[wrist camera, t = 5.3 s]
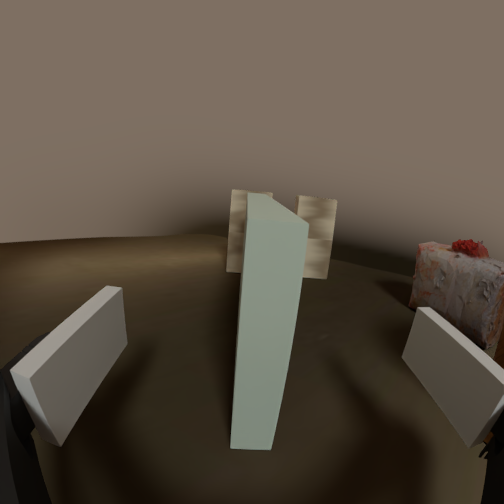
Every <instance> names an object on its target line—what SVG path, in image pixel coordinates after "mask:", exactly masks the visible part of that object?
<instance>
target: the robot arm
mask: <svg viewBox="0 0 504 504" xmlns="http://www.w3.org/2000/svg"><path fill="white" fill-rule="evenodd" d="M127 344H128V343H127V335H126V326H125V317H124V305H123V292H122V288H120V287H113V286H106V287H104V288H103V289H102V290H101V291H100V292H98V293H97V294H96V295H95V296H93V297H92V298H91V299H90V300H89V301H87V302H86V303H85V304H84V305H82V306H81V307H80V308H79V309H78V310H76V311H75V312H74V313H73V314H72V315H71V316H69V317H68V318H67V319H66V320H65V321H64V322H62V323H61V324H60V325H59V326H58V327H57V328H55V329H54V330H53V331H52V332H51V333H50V332H47V333H45V334H43V335H41V336H39V337H37V338H36V339H34V340H33V341H32V342H31V343H30V344H29V346H26V347H25V348H24V349H23V350H22V352H20V353H18V354H17V355H16V356H15V357H14V358H13V359H12V360H11V361H10V362H9V363H7V364H6V365H5V366H4V367H3V368H2V369H1V370H0V504H52V503H51V500H50V498H49V495H48V492H47V489H46V485H45V482H44V479H43V476H42V472H41V468H40V465H39V461H38V457H37V453H36V448H35V444H34V440H33V438H32V436H31V434H30V433H31V432H32V430H33V429H34V428H35V427H36V429H37V431H38V433H39V435H40V437H41V438H42V439H43V440H45V441H47V442H49V443H52V444H54V445H56V446H59V447H61V446H62V444H63V443H64V441H65V439H66V438H67V436H68V434H69V433H70V431H71V429H72V428H73V426H74V425H75V423H76V421H77V420H78V418H79V416H80V415H81V413H82V412H83V410H84V409H85V407H86V405H87V404H88V402H89V401H90V399H91V398H92V396H93V394H94V393H95V391H96V390H97V388H98V387H99V385H100V384H101V382H102V381H103V379H104V378H105V376H106V375H107V373H108V372H109V370H110V369H111V367H112V366H113V364H114V363H115V361H116V360H117V358H118V357H119V355H120V354H121V352H122V351H123V349H124V348H125V346H126V345H127ZM402 359H403V360H404V361H405V363H406V364H407V365H408V366H409V368H410V369H411V370H412V372H413V373H414V374H415V375H416V377H417V378H418V379H419V381H420V382H421V383H422V385H423V386H424V387H425V389H426V390H427V391H428V393H429V394H430V395H431V397H432V398H433V399H434V401H435V402H436V403H437V405H438V406H439V407H440V409H441V410H442V412H443V413H444V414H445V416H446V417H447V419H448V420H449V421H450V423H451V424H452V426H453V427H454V428H455V430H456V431H457V433H458V434H459V435H460V437H461V438H462V440H463V441H464V443H465V444H466V446H467V447H468V449H469V448H471V447H473V446H476V445H478V444H480V443H482V442H483V440H484V439H485V437H486V436H487V435H488V433H489V432H490V431H491V432H492V433H493V437H492V438H491V439H490V441H489V442H488V443H487V445H486V446H485V447H484V449H483V450H482V451H481V453H480V455H479V457H480V458H481V457H482V455H483V454H484V453H485V452H487V451H488V453H487V455H486V456H485V457H484V459H487V468H486V476H485V483H484V489H483V494H482V500H481V504H504V369H503V368H501V367H500V366H499V365H498V364H497V363H496V362H495V361H494V360H492V359H491V358H490V357H489V356H488V355H487V354H486V353H484V352H483V351H482V350H481V349H480V348H479V347H478V346H476V345H475V344H474V343H473V342H472V341H470V340H469V339H468V338H467V337H466V336H464V335H463V334H462V333H461V332H460V331H458V330H457V329H456V328H455V327H454V326H452V325H451V324H450V323H449V322H447V321H446V320H445V319H444V318H442V317H441V316H440V315H439V314H437V313H436V312H435V311H434V310H432V309H431V308H430V307H417V310H416V314H415V317H414V321H413V324H412V327H411V331H410V334H409V337H408V340H407V343H406V346H405V349H404V352H403V355H402Z"/></svg>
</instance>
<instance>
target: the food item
mask: <svg viewBox="0 0 504 504" xmlns="http://www.w3.org/2000/svg"><path fill="white" fill-rule="evenodd" d="M482 244H483V241H481V242H479V241H478V243H475V242H473V240H472V239H470V240H467V241H466V240H464V241H461V240H458V241H457V242H453V244H452V246H450V245H445V244H439V243H436V242H427V243H423V244H419V245H418V251H417V258H416V260H417V263H416V269H415V276H413V279H414V283H413V288H412V295H411V298H410V302H409V305H408V306H409V307H410V308H412V309H414V310H417V307H430V308H431V309H432V310H434V311H435V312H436V313H437V314H439V315H440V316H441V317H442V318H444V319H445V320H446V321H447V322H449V323H450V324H451V325H452V326H454V327H455V328H456V329H457V330H458V331H460V332H461V333H462V334H463V335H464V336H466V337H467V338H468V339H469V340H471V341H473V342H474V343H476V344H478V345H479V346H481V347H483V348H485V349H488V348H489V347H492V346H493V345H494V344H495V343H496V342H498V341H499V339H500V334H501V331H502V326H503V322H504V263H503V262H500V261H497V260H495V259H492V258H490V257H489V255H488V251H487V249H486V248H485V247H484V246H483V245H482Z"/></svg>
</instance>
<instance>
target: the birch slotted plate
mask: <svg viewBox="0 0 504 504" xmlns="http://www.w3.org/2000/svg"><path fill="white" fill-rule="evenodd" d="M247 193H260V194H266V195H268V196H269V197H271V198H272V195H273V193H270V192H258V191H247V190H234V189H233V190H232V197H231V210H230V223H229V237H228V252H227V268H226V272H235V273H241V267H242V254H243V242H244V229H245V217H246V205H247ZM336 207H337V200H333V199H326V198H318V197H309V196H300V195H296V202H295V212H294V214H296V215H297V216H299V217H300V218H302V219H303V220H304V221H306V222H307V223H309V231H308V239H307V247H306V255H305V263H304V270H303V277H304V278H320V279H327V273H328V267H329V260H330V253H331V247H332V239H333V232H334V224H335V216H336Z"/></svg>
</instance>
